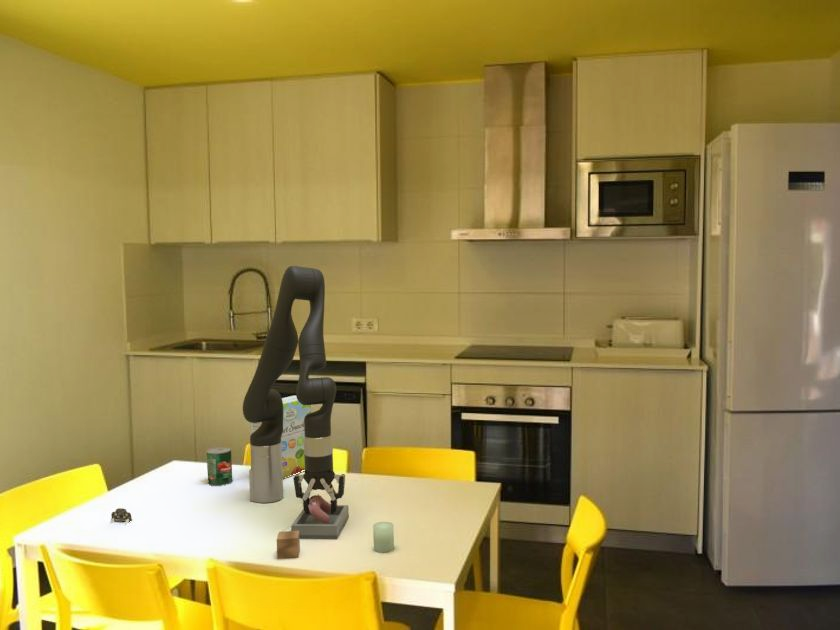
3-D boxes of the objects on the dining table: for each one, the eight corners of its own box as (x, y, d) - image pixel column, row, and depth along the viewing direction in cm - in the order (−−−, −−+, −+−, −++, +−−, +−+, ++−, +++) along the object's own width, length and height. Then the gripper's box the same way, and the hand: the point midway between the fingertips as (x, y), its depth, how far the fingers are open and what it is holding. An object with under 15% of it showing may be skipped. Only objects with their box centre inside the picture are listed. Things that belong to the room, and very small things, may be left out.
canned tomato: (228, 486, 234) (227, 452, 233) (204, 486, 234) (203, 453, 233) (235, 478, 242) (234, 446, 241) (212, 479, 242) (210, 447, 241)
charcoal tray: (291, 538, 187) (291, 525, 187) (306, 517, 203) (306, 504, 203) (337, 539, 186) (336, 525, 186) (348, 517, 202) (348, 505, 202)
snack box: (269, 486, 233) (266, 407, 231) (250, 482, 238) (246, 405, 236) (314, 469, 251) (311, 396, 249) (295, 465, 256) (292, 394, 254)
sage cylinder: (372, 552, 177) (371, 528, 176) (375, 544, 182) (374, 521, 181) (392, 553, 176) (391, 529, 176) (395, 545, 181) (394, 521, 181)
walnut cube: (277, 559, 174) (276, 539, 174) (279, 551, 179) (278, 531, 179) (298, 558, 175) (297, 538, 174) (299, 550, 180) (299, 530, 179)
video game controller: (319, 516, 200) (308, 494, 199) (334, 509, 200) (322, 487, 199) (315, 529, 190) (303, 506, 189) (331, 522, 190) (319, 499, 189)
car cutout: (103, 527, 200) (102, 512, 200) (117, 519, 207) (116, 504, 206) (152, 530, 197) (151, 514, 197) (165, 521, 204) (164, 506, 203)
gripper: (288, 455, 190) (290, 517, 191) (342, 455, 189) (344, 518, 190) (295, 448, 197) (297, 508, 199) (347, 448, 196) (349, 508, 197)
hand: (320, 512), depth 194 cm, fingers open, 6 cm apart
